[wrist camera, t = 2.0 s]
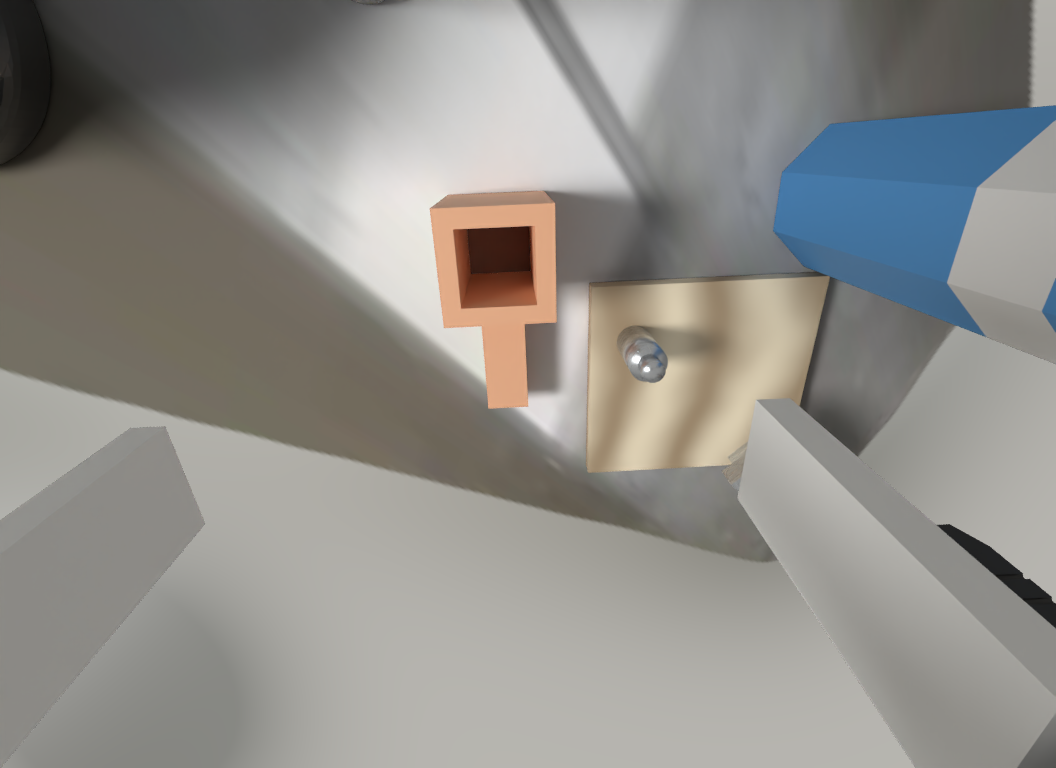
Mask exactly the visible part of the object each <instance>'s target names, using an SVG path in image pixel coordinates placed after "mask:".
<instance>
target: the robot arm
mask: <svg viewBox="0 0 1056 768" xmlns="http://www.w3.org/2000/svg"><path fill="white" fill-rule="evenodd" d="M50 83H51V78H50V62H49V55H48V49H47V44H46V40H45V35H44V32H43V28H42V25H41V22H40V19H39V16H38V13H37V10H36V8H35V5H34V3H33V1H32V0H0V165H1V164H3V163H5V162H7V161H9V160H11V159H12V158H14V157H15V156H17V155H18V154H20V153H21V152H22V151H23V150H24V149H25V148H26V147H27V146H28V145H29V144H30V143H31V141H32V140H33V139H34V138H35V136H36V134H37V133H38V131H39V129H40V127H41V125H42V123H43V120H44V118H45V115H46V111H47V107H48V103H49V96H50ZM737 499H738V500H739V502H740V503H741V505H742V506H743V508H744V509H745V511H746V512H747V514H748V515H749V517H750V518H751V520H752V521H753V523H754V524H755V526H756V527H757V529H758V530H759V532H760V533H761V535H762V536H763V538H764V539H765V541H766V542H767V544H768V545H769V547H770V549H771V550H772V552H773V553H774V555H775V556H776V558H777V559H778V561H779V562H780V564H781V565H782V567H783V568H784V570H785V571H786V572H787V574H788V576H789V577H790V578H791V580H792V582H793V583H794V585H795V586H796V588H797V589H798V591H799V592H800V594H801V595H802V597H803V598H804V600H805V601H806V603H807V604H808V606H809V607H810V609H811V611H812V612H813V614H814V615H815V617H816V618H817V620H818V621H819V623H820V624H821V626H822V627H823V628H824V630H825V632H826V633H827V635H828V636H829V638H830V639H831V641H832V642H833V644H834V645H835V647H836V648H837V650H838V651H839V653H840V654H841V656H842V657H843V659H844V660H845V662H846V663H847V665H848V666H849V668H850V670H851V671H852V673H853V674H854V676H855V677H856V678H857V680H858V682H859V683H860V685H861V686H862V688H863V689H864V691H865V692H866V694H867V695H868V697H869V698H870V700H871V701H872V703H873V704H874V706H875V707H876V709H877V710H878V712H879V713H880V715H881V716H882V718H883V719H884V721H885V722H886V724H887V725H888V727H889V728H890V730H891V731H892V733H893V735H894V736H895V738H896V739H897V741H898V742H899V744H900V745H901V747H902V748H903V750H904V751H905V753H906V754H907V756H908V757H909V759H910V760H911V762H912V763H913V765H914V766H915V768H1056V603H1054V602H1053V601H1052V597H1051V596H1050V595H1049V594H1047V593H1046V592H1045V591H1044V590H1042V589H1041V588H1040V587H1039V586H1037V585H1036V584H1035V583H1034V582H1033V581H1031V580H1030V579H1024V577H1023V573H1022V572H1020V571H1019V570H1018V569H1017V568H1015V567H1014V566H1013V565H1012V564H1010V563H1009V562H1008V561H1007V560H1005V559H1004V558H1003V557H1002V556H1001V555H1000V554H998V553H997V552H996V551H994V550H993V549H992V548H991V547H990V546H988V545H986V544H984V543H983V542H980V541H979V540H977V539H975V538H973V537H972V536H970V535H968V534H966V533H964V532H963V531H961V530H959V529H957V528H955V527H953V526H952V525H950V524H948V525H947V524H946V525H936V524H935V523H933V522H932V521H931V520H930V519H929V518H927V517H926V516H925V515H924V514H923V513H922V512H921V511H920V510H918V509H917V508H916V507H915V506H914V505H912V504H911V503H910V502H909V501H908V500H907V499H906V498H904V497H903V496H902V495H901V494H900V493H899V492H897V491H896V490H895V489H894V488H893V487H892V486H891V485H889V484H888V483H887V482H886V481H885V480H884V479H883V478H881V477H880V476H879V475H878V474H877V473H876V472H875V471H873V470H872V469H871V468H870V467H869V466H867V465H866V464H865V463H864V462H863V461H862V460H861V459H860V458H858V457H857V456H856V455H855V454H854V453H853V452H851V451H850V450H849V449H848V448H847V447H846V446H845V445H843V444H842V443H841V442H840V441H839V440H838V439H836V438H835V437H834V436H833V435H832V434H831V433H829V432H828V431H827V430H826V429H825V428H824V427H823V426H821V425H820V424H819V423H818V422H817V421H816V420H814V419H813V418H812V417H811V416H810V415H809V414H808V413H806V412H805V411H804V410H803V409H802V408H801V407H799V406H798V405H797V404H796V403H795V402H794V401H793V400H791V399H790V398H782V399H760V400H756V402H755V407H754V413H753V418H752V423H751V429H750V434H749V439H748V445H747V450H746V455H745V461H744V466H743V471H742V477H741V482H740V487H739V493H738V498H737ZM204 525H205V522H204V519H203V517H202V515H201V512H200V510H199V507H198V505H197V502H196V500H195V498H194V495H193V493H192V490H191V488H190V486H189V483H188V481H187V478H186V476H185V473H184V471H183V468H182V466H181V464H180V461H179V459H178V456H177V454H176V451H175V449H174V447H173V444H172V442H171V439H170V437H169V435H168V432H167V430H166V427H165V426H164V427H143V428H130V429H128V430H127V431H125V432H124V433H123V434H121V435H120V436H118V437H117V438H115V439H114V440H113V441H111V442H110V443H108V444H107V445H106V446H104V447H103V448H101V449H100V450H99V451H97V452H96V453H94V454H93V455H91V456H90V457H89V458H87V459H86V460H84V461H83V462H82V463H80V464H79V465H78V466H76V467H75V468H73V469H72V470H70V471H69V472H67V473H66V474H65V475H63V476H62V477H60V478H59V479H58V480H56V481H55V482H53V483H52V484H51V485H49V486H48V487H46V488H45V489H43V490H42V491H41V492H39V493H38V494H36V495H35V496H34V497H32V498H31V499H29V500H28V501H27V502H25V503H24V504H22V505H21V506H20V507H18V508H17V509H15V510H14V511H12V512H11V513H10V514H8V515H7V516H5V517H4V518H3V519H1V520H0V768H1V767H2V766H3V764H5V763H6V761H7V760H8V759H9V758H10V756H11V755H12V754H13V753H14V752H15V751H16V749H17V748H18V747H19V746H20V745H21V743H22V742H23V741H24V740H25V739H26V737H27V736H28V735H29V734H30V733H31V731H32V730H33V729H34V728H35V727H36V726H37V724H38V723H39V722H40V721H41V719H42V718H43V717H44V716H45V715H46V714H47V712H48V711H49V710H50V709H51V708H52V706H53V705H54V704H55V703H56V702H57V700H58V699H59V698H60V697H61V696H62V695H63V693H64V692H65V691H66V690H67V689H68V687H69V686H70V685H71V684H72V683H73V681H74V680H75V679H76V678H77V676H78V675H79V674H80V673H81V672H82V671H83V669H84V668H85V667H86V666H87V665H88V663H89V662H90V661H91V660H92V659H93V657H94V656H95V655H96V654H97V653H98V651H99V650H100V649H101V648H102V647H103V646H104V644H105V643H106V642H107V641H108V640H109V638H110V637H111V636H112V635H113V634H114V632H115V631H116V630H117V629H118V628H119V626H120V625H121V624H122V623H123V622H124V620H125V619H126V618H127V617H128V615H129V614H130V613H131V612H132V611H133V610H134V608H135V607H136V606H137V605H138V604H139V603H140V601H141V600H142V599H143V598H144V596H145V595H146V594H147V593H148V592H149V590H150V589H151V588H152V587H153V586H154V584H155V583H156V582H157V581H158V580H159V579H160V577H161V576H162V575H163V574H164V573H165V571H166V570H167V569H168V568H169V567H170V566H171V564H172V563H173V562H174V561H175V560H176V558H177V557H178V556H179V555H180V554H181V552H182V551H183V550H184V549H185V548H186V546H187V545H188V544H189V543H190V542H191V540H192V539H193V538H194V537H195V536H196V534H197V533H198V532H199V531H200V529H201V528H202V527H203V526H204Z"/></svg>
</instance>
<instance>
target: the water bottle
mask: <svg viewBox="0 0 1056 768" xmlns="http://www.w3.org/2000/svg"><path fill="white" fill-rule="evenodd" d="M773 231H774V232H775V234H776V235H777V236H778V237H779V238H780V239H781V240H782V242H783V243H784V244H785V245H786V246H787V247H788V249H789V250H790V251H791V252H792V253H793V254H794V255H795V257H796V258H797V259H798V260H799V261H800V262H801V264H802V265H803V266H804V267H807V268H810V269H812V270H815V271H817V272H820V273H822V274H825V275H828V276H830V277H833V278H835V279H838V280H840V281H843V282H846V283H848V284H851V285H853V286H856V287H858V288H861V289H864V290H866V291H869V292H871V293H874V294H876V295H879V296H882V297H884V298H887V299H889V300H892V301H894V302H897V303H900V304H902V305H905V306H907V307H910V308H912V309H915V310H918V311H920V312H923V313H925V314H928V315H930V316H933V317H936V318H938V319H941V320H943V321H946V322H949V323H951V324H954V325H956V326H959V327H961V328H964V329H967V330H969V331H972V332H974V333H977V334H980V335H982V336H985V337H987V338H990V339H992V340H995V341H997V342H1000V343H1003V344H1005V345H1008V346H1010V347H1013V348H1015V349H1018V350H1021V351H1023V352H1026V353H1028V354H1031V355H1033V356H1036V357H1039V358H1041V359H1044V360H1047V361H1049V362H1052V363H1054V364H1056V106H1043V107H1031V108H1019V109H1007V110H995V111H983V112H970V113H958V114H946V115H934V116H922V117H910V118H898V119H885V120H873V121H861V122H849V123H837V124H830V125H829V126H828V127H827V128H826V129H825V130H824V131H823V132H822V133H821V134H820V135H819V136H818V137H817V138H816V139H815V140H814V141H813V142H812V143H811V144H810V145H809V146H808V147H807V148H806V149H805V150H804V151H803V152H802V153H801V154H800V155H799V156H798V157H797V158H796V159H795V160H794V161H793V162H792V163H791V164H790V165H789V166H788V167H787V168H786V169H785V170H784V171H783V172H782V177H781V183H780V190H779V196H778V203H777V209H776V216H775V223H774V229H773Z"/></svg>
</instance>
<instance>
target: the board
mask: <svg viewBox="0 0 1056 768" xmlns="http://www.w3.org/2000/svg"><path fill="white" fill-rule="evenodd" d="M829 279H830V276H828V275H825V274H822V273H820V272H809V273H788V274H767V275H746V276H725V277H704V278H683V279H662V280H641V281H620V282H599V283H589V329H588V385H587V440H586V466H587V470H588V473H593V472H611V471H629V470H647V469H665V468H683V467H701V466H719V465H731V464H732V463H731V461H730V460H729V459H728V456H729V455H731V454H732V453H733V452H735V451H736V450H737V449H738V448H740V447H741V446H742V445H744V444H745V443H746V442H747V441H748V439H749V434H750V429H751V423H752V418H753V413H754V407H755V402H756V400H760V399H782V398H790V399H791V400H793V401H794V402H795V403H796V404H797V405H798V406H800V402H801V398H802V393H803V389H804V385H805V381H806V376H807V372H808V368H809V364H810V360H811V355H812V351H813V347H814V343H815V338H816V334H817V330H818V326H819V322H820V317H821V313H822V309H823V305H824V300H825V296H826V292H827V288H828V284H829ZM634 325H637V326H642V327H644V328H645V329H646V330H647V331H648V332H649V333H650V334H651V336H652V337H653V338H654V340H655V341H656V342H657V343H658V345H659V346H660V347H661V348H662V350H663V351H664V352H665V354H666V355H667V358H668V366H667V369H666V373H665V376H664V377H663V379H662V380H660V381H659V382H656V383H650V382H643V381H639V380H637V379H636V378H635V377H634V376H633V375H632V374H631V372H630V370H629V368H628V366H627V365H626V363H625V361H624V359H623V358H622V356H621V354H620V352H619V350H618V348H617V338H618V336H619V334H620V333H621V332H622V331H623V330H624V329H625V328H627V327H629V326H634Z"/></svg>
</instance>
